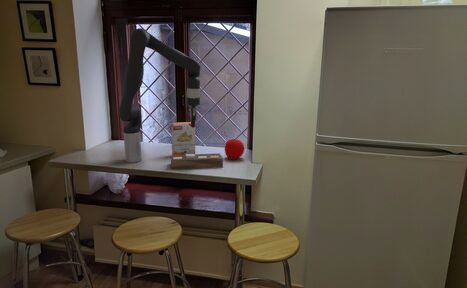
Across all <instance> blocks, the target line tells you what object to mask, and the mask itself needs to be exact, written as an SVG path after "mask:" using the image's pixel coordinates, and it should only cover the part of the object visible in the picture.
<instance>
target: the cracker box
mask: <svg viewBox="0 0 467 288" xmlns="http://www.w3.org/2000/svg"><path fill="white" fill-rule="evenodd" d="M186 154H196V126H195V127H191V121H185V122H171V155H186Z"/></svg>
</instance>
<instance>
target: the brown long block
mask: <svg viewBox="0 0 467 288" xmlns="http://www.w3.org/2000/svg"><path fill="white" fill-rule="evenodd" d="M215 155H219V157H213V158H211V157H210V156H215ZM198 156H207V158H198ZM173 157H182V159H173ZM223 163H224V158H223V156H222V155H221V153H200V154H199V153H197V154H196V153H195V158H187V159H186V155H172V154H171V155H170V169H171V170H183V169H184V170H185V169H187V168H188V169H189V170H190V169H206V168H207V169H208V168H224V164H223Z"/></svg>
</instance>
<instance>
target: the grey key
mask: <svg viewBox="0 0 467 288" xmlns="http://www.w3.org/2000/svg"><path fill="white" fill-rule="evenodd" d="M195 154H196V153H195ZM195 154H186V159H187V158H195Z"/></svg>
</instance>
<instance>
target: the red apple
mask: <svg viewBox="0 0 467 288" xmlns="http://www.w3.org/2000/svg"><path fill="white" fill-rule="evenodd" d="M244 152H245V145H244V143H243V141H242V140H240V139H236V138H230V139H228V140H227V141H226V142H225V144H224V153H225V156H226V157H227V158H228V159H229V160H238V159H240V158H242V156H243V154H244Z"/></svg>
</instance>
